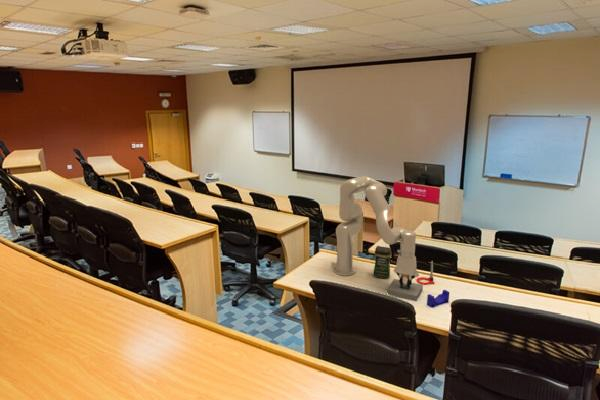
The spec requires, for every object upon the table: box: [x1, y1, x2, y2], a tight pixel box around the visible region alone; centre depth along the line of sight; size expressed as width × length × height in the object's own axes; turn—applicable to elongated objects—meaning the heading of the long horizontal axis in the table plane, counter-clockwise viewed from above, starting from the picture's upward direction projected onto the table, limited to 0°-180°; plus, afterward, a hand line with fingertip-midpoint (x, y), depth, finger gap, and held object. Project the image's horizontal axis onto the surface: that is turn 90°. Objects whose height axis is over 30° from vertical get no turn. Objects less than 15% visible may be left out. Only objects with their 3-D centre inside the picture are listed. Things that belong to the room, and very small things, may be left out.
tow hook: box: [415, 260, 435, 286], centre depth 215 cm, size 8×13×9 cm
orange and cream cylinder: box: [402, 274, 409, 289], centre depth 202 cm, size 4×4×8 cm
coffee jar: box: [373, 245, 392, 280], centre depth 221 cm, size 10×8×19 cm
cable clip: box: [426, 289, 450, 308], centre depth 192 cm, size 12×4×6 cm, turn 116°
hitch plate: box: [386, 278, 424, 302], centre depth 204 cm, size 16×14×3 cm
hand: (405, 284), depth 203 cm, fingers closed on orange and cream cylinder, 3 cm apart
